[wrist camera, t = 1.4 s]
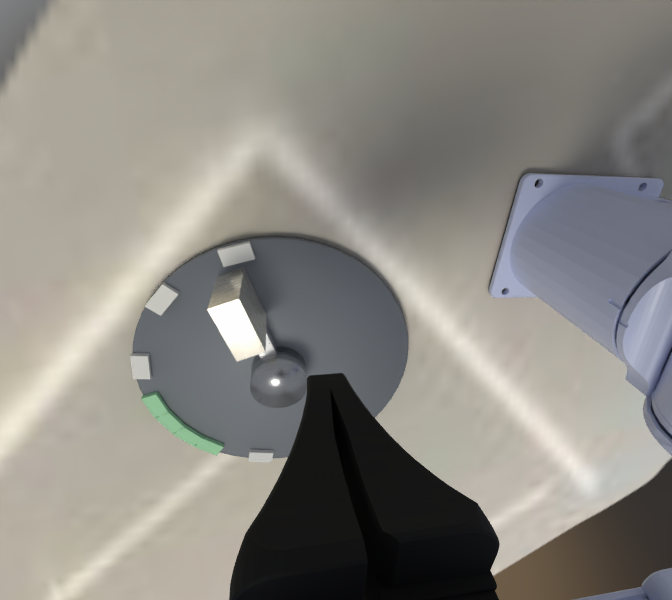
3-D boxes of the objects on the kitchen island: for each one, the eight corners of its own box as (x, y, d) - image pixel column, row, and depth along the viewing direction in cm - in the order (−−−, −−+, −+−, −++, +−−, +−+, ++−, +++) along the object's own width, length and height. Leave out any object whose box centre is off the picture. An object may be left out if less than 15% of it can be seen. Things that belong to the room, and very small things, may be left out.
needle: (312, 379, 26) (318, 420, 22) (263, 395, 26) (262, 439, 22) (260, 261, 21) (258, 292, 18) (200, 281, 21) (187, 316, 18)
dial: (425, 237, 23) (431, 242, 22) (388, 442, 31) (391, 451, 30) (104, 234, 20) (97, 240, 19) (160, 461, 28) (157, 472, 27)
